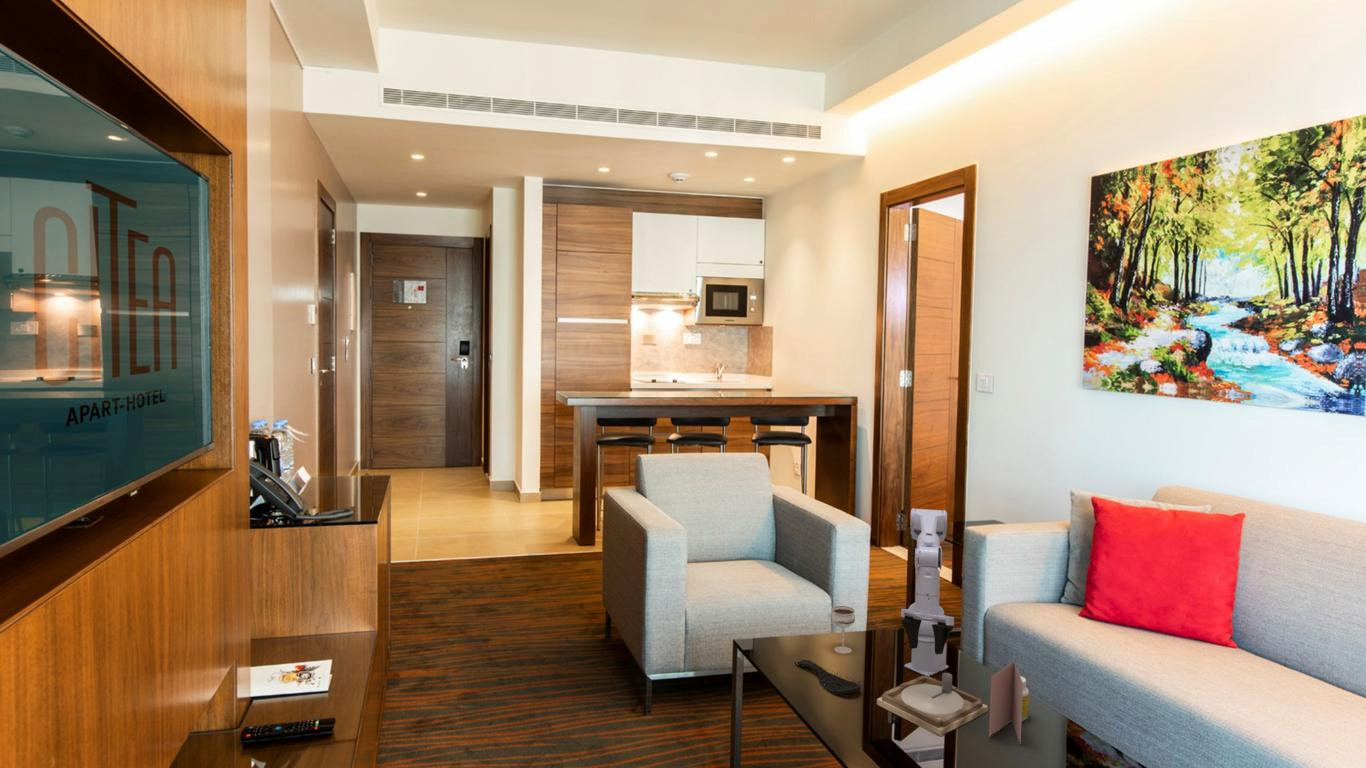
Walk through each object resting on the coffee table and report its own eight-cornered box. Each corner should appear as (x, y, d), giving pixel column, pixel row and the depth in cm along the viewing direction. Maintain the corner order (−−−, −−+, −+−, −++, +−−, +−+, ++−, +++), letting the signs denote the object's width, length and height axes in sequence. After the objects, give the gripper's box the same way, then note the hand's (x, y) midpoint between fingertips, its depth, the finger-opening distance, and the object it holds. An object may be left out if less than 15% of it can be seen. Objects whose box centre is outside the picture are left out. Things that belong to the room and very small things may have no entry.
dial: (938, 723, 198) (939, 702, 197) (888, 699, 210) (889, 678, 209) (975, 704, 207) (976, 684, 206) (925, 682, 219) (926, 662, 218)
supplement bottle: (1017, 724, 200) (1018, 685, 199) (999, 714, 205) (1000, 676, 204) (1032, 718, 203) (1034, 680, 202) (1014, 709, 208) (1016, 671, 207)
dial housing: (924, 683, 221) (924, 672, 221) (987, 711, 206) (988, 700, 206) (876, 704, 210) (877, 693, 210) (940, 736, 195) (940, 724, 195)
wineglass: (830, 644, 246) (830, 605, 245) (853, 645, 246) (854, 606, 244) (831, 654, 239) (832, 614, 238) (855, 655, 239) (856, 615, 237)
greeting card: (1008, 719, 203) (1010, 660, 201) (1038, 731, 197) (1041, 670, 196) (985, 736, 195) (987, 675, 193) (1016, 749, 190) (1018, 686, 188)
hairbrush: (807, 649, 237) (869, 680, 215) (808, 662, 237) (869, 694, 216) (784, 656, 233) (844, 688, 211) (784, 669, 233) (844, 702, 212)
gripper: (893, 591, 212) (892, 646, 210) (941, 599, 200) (940, 657, 198) (911, 591, 216) (910, 645, 214) (959, 598, 204) (958, 655, 202)
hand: (926, 651), depth 206 cm, fingers open, 7 cm apart
